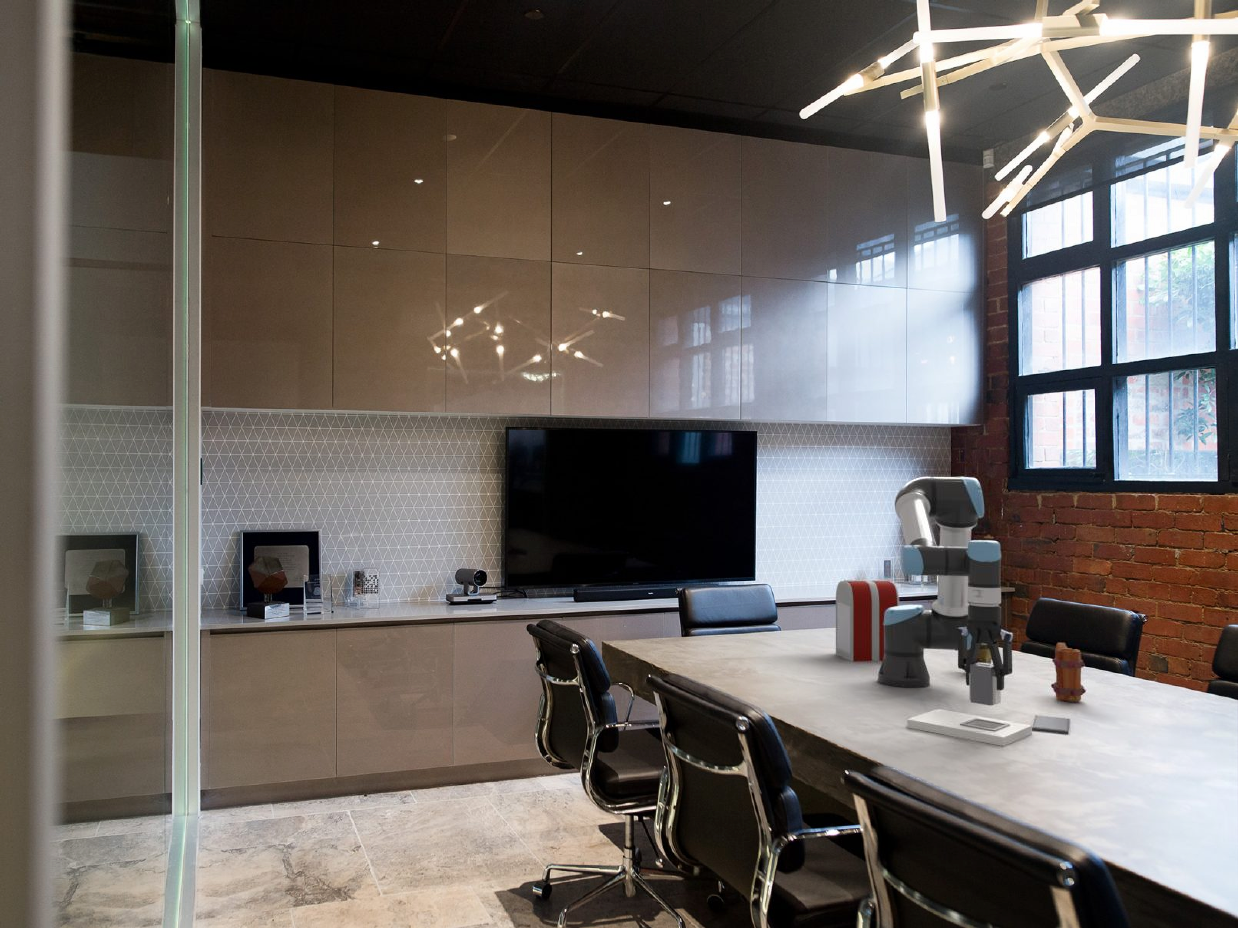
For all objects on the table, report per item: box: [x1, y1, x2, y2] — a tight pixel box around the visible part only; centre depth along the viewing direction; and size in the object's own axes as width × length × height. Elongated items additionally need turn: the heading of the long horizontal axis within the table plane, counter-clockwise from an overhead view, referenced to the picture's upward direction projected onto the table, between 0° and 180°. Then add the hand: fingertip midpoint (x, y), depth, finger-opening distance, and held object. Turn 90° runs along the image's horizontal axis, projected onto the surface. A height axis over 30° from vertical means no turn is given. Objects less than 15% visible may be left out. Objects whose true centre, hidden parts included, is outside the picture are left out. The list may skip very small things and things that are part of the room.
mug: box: [1050, 642, 1087, 703], centre depth 269 cm, size 15×8×15 cm, turn 168°
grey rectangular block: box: [970, 662, 996, 707], centre depth 229 cm, size 5×5×9 cm
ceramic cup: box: [967, 643, 992, 664], centre depth 306 cm, size 13×10×10 cm
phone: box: [1031, 714, 1071, 735], centre depth 237 cm, size 8×15×1 cm, turn 153°
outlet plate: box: [906, 708, 1033, 747], centre depth 231 cm, size 24×16×2 cm, turn 45°
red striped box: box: [835, 579, 900, 663], centre depth 334 cm, size 16×18×27 cm
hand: (984, 701), depth 229 cm, fingers closed on grey rectangular block, 5 cm apart
